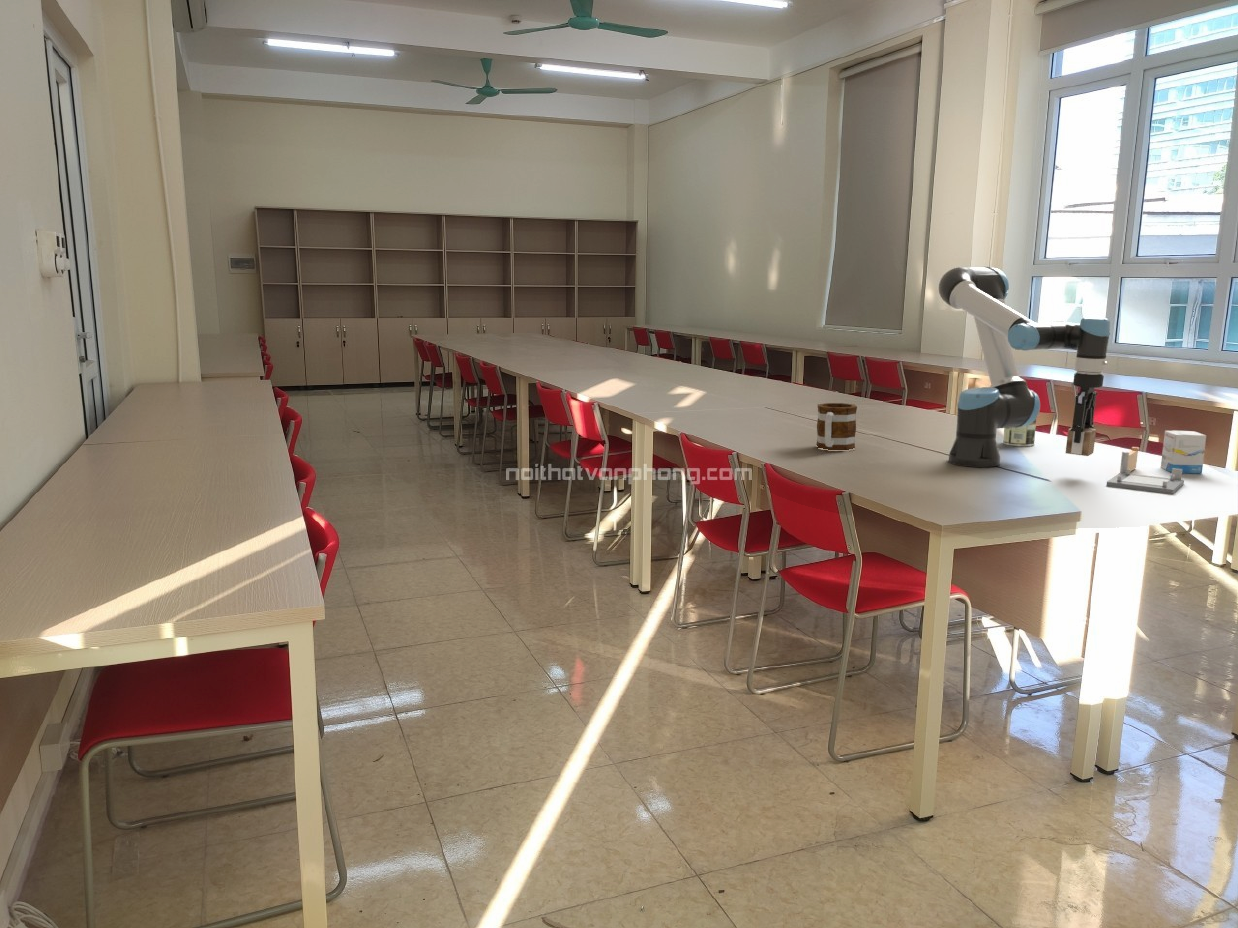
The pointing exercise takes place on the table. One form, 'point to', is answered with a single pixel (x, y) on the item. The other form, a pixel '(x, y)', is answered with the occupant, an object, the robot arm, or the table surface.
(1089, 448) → the walnut block
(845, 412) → the mug
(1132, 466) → the lid gate
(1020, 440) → the coffee can
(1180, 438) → the ink box
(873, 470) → the table surface
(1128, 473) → the housing
